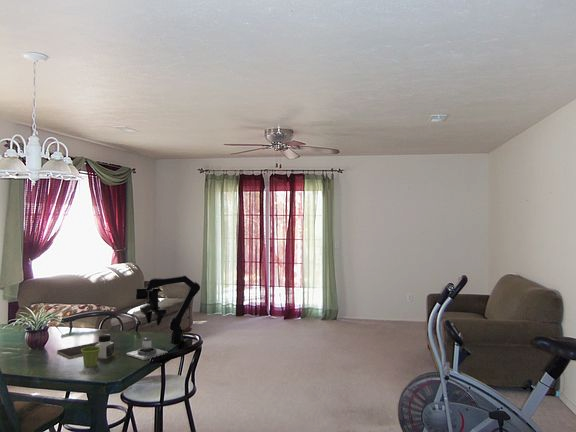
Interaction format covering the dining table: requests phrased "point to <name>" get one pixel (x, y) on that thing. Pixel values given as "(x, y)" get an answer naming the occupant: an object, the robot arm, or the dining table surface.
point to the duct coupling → (146, 344)
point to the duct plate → (143, 357)
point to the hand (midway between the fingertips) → (153, 324)
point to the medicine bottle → (105, 346)
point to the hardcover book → (75, 350)
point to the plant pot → (90, 356)
